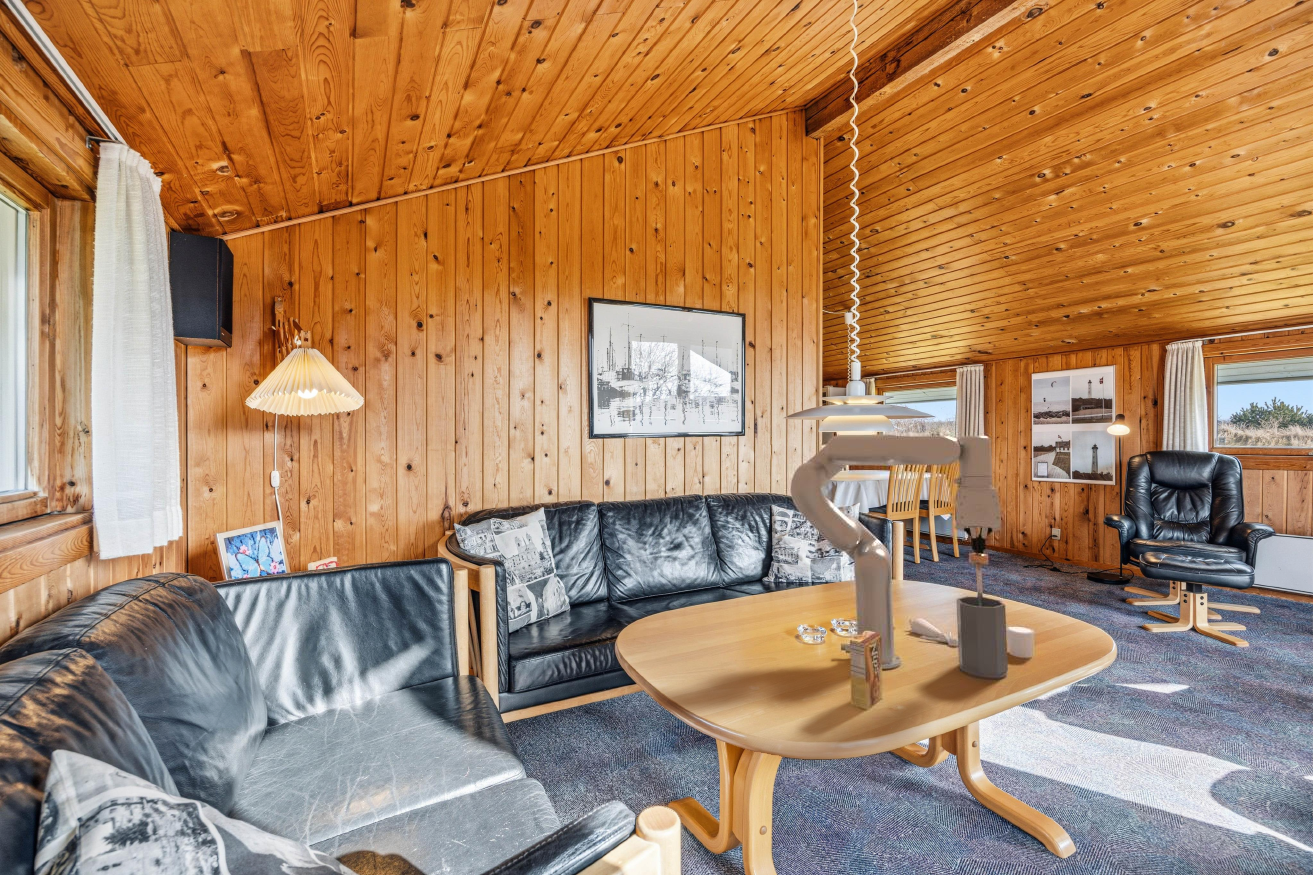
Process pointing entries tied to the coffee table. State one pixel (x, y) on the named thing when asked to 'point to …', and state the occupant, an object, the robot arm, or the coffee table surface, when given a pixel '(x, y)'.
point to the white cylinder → (1020, 641)
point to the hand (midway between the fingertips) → (978, 552)
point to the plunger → (979, 572)
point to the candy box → (866, 669)
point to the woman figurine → (931, 632)
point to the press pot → (982, 638)
